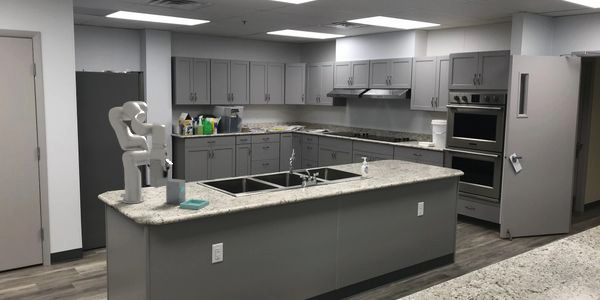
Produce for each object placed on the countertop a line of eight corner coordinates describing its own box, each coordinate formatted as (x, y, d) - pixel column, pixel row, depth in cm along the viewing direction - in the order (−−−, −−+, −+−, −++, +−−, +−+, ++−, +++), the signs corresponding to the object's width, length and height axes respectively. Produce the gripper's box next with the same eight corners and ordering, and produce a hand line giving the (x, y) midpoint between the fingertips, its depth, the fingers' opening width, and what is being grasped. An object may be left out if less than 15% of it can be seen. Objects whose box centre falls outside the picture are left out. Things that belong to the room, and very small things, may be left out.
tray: (179, 207, 286) (179, 203, 286) (191, 202, 299) (191, 198, 299) (198, 209, 283) (198, 205, 282) (209, 204, 295) (209, 200, 295)
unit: (164, 203, 294) (163, 181, 292) (172, 200, 302) (171, 178, 301) (180, 205, 291) (179, 182, 289) (187, 202, 299) (187, 179, 297)
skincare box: (161, 183, 282) (161, 157, 280) (168, 186, 278) (168, 158, 275) (148, 186, 276) (148, 158, 273) (156, 188, 271) (156, 160, 269)
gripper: (175, 146, 274) (175, 176, 277) (149, 144, 279) (149, 173, 282) (168, 148, 267) (168, 179, 270) (141, 145, 272) (141, 176, 275)
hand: (158, 176), depth 276 cm, fingers closed on skincare box, 8 cm apart
